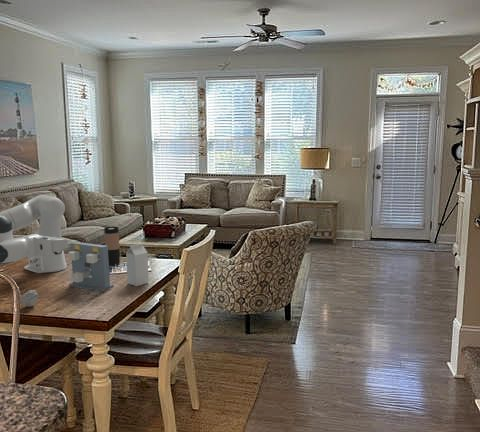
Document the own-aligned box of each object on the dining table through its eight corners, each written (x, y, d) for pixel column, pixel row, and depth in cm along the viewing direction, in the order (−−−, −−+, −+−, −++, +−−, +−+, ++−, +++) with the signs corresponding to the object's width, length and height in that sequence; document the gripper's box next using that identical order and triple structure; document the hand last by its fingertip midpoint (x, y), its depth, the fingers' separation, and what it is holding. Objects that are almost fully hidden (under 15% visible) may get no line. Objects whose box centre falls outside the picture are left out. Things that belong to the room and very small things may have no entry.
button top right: (86, 262, 212) (86, 254, 211) (102, 257, 221) (102, 249, 220) (92, 263, 210) (92, 255, 210) (108, 258, 219) (108, 250, 218)
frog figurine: (32, 309, 191) (31, 293, 190) (18, 308, 193) (16, 291, 192) (42, 304, 197) (41, 288, 195) (28, 303, 199) (27, 287, 197)
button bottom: (72, 281, 212) (71, 273, 212) (88, 275, 221) (88, 268, 221) (78, 282, 211) (77, 274, 210) (94, 276, 220) (94, 269, 219)
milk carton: (148, 283, 225) (147, 244, 222) (136, 286, 220) (134, 246, 216) (139, 280, 229) (138, 242, 226) (127, 283, 224) (125, 244, 221)
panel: (69, 285, 222) (66, 244, 218) (81, 281, 229) (79, 240, 225) (101, 291, 213) (99, 248, 209) (113, 286, 220) (111, 244, 216)
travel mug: (103, 263, 260) (101, 227, 256) (116, 261, 265) (114, 226, 261) (109, 266, 254) (107, 229, 251) (122, 263, 259) (121, 228, 256)
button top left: (68, 259, 217) (68, 252, 216) (84, 254, 226) (84, 247, 225) (74, 260, 215) (74, 253, 215) (90, 255, 224) (90, 248, 223)
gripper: (16, 250, 195) (43, 243, 207) (51, 255, 186) (78, 248, 198) (15, 235, 194) (42, 229, 206) (50, 239, 185) (77, 233, 197)
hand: (60, 238), depth 202 cm, fingers closed
